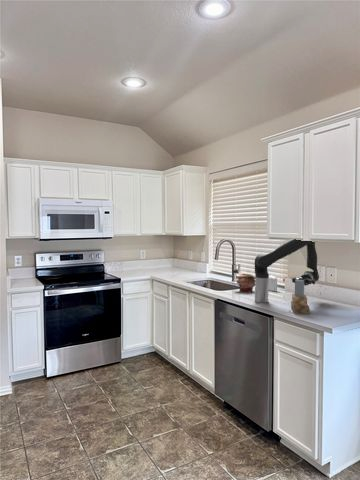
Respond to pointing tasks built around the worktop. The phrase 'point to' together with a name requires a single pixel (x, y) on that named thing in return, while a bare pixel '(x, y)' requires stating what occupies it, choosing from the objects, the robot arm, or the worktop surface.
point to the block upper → (299, 300)
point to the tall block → (299, 288)
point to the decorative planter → (246, 282)
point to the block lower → (300, 309)
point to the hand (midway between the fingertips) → (301, 282)
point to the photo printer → (272, 283)
